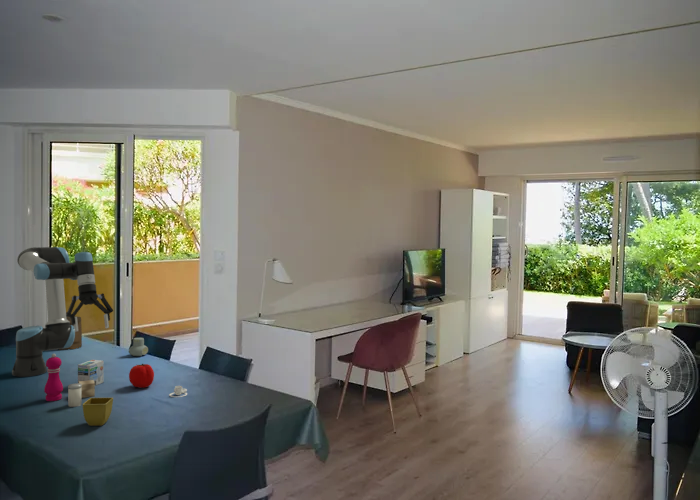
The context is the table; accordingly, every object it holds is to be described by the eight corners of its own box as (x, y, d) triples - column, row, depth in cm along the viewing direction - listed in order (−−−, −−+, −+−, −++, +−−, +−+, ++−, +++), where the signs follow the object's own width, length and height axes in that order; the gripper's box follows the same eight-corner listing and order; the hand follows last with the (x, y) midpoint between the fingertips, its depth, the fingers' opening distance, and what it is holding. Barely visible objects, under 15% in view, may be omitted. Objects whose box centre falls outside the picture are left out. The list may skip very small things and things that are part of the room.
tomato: (145, 391, 258) (145, 367, 257) (123, 389, 260) (123, 365, 260) (159, 384, 270) (159, 361, 269) (138, 382, 272) (138, 359, 271)
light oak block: (79, 398, 246) (79, 384, 246) (78, 394, 251) (78, 381, 251) (94, 396, 249) (94, 383, 248) (93, 392, 254) (93, 379, 254)
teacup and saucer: (183, 391, 260) (183, 382, 260) (192, 395, 254) (192, 386, 254) (166, 395, 254) (166, 386, 254) (174, 399, 248) (174, 390, 248)
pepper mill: (66, 397, 246) (66, 352, 245) (53, 402, 239) (53, 356, 238) (54, 395, 248) (54, 351, 247) (40, 400, 241) (40, 354, 241)
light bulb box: (89, 388, 261) (89, 365, 260) (77, 387, 262) (77, 364, 261) (104, 382, 271) (104, 360, 271) (91, 381, 272) (91, 359, 272)
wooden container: (49, 349, 339) (49, 313, 338) (65, 344, 353) (65, 309, 352) (71, 350, 336) (71, 314, 335) (86, 345, 351) (86, 310, 350)
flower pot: (90, 419, 219) (90, 397, 219) (113, 419, 220) (113, 397, 219) (81, 428, 210) (81, 404, 210) (105, 427, 211) (105, 404, 210)
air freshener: (136, 353, 333) (136, 336, 333) (149, 353, 332) (149, 337, 332) (126, 357, 323) (126, 340, 322) (140, 357, 321) (140, 340, 321)
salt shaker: (72, 402, 239) (72, 383, 239) (84, 403, 239) (84, 383, 239) (65, 406, 234) (65, 386, 233) (77, 407, 234) (77, 387, 233)
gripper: (60, 284, 251) (65, 331, 247) (116, 281, 268) (122, 325, 264) (55, 288, 256) (60, 334, 252) (110, 285, 273) (116, 328, 269)
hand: (92, 329), depth 258 cm, fingers open, 13 cm apart
